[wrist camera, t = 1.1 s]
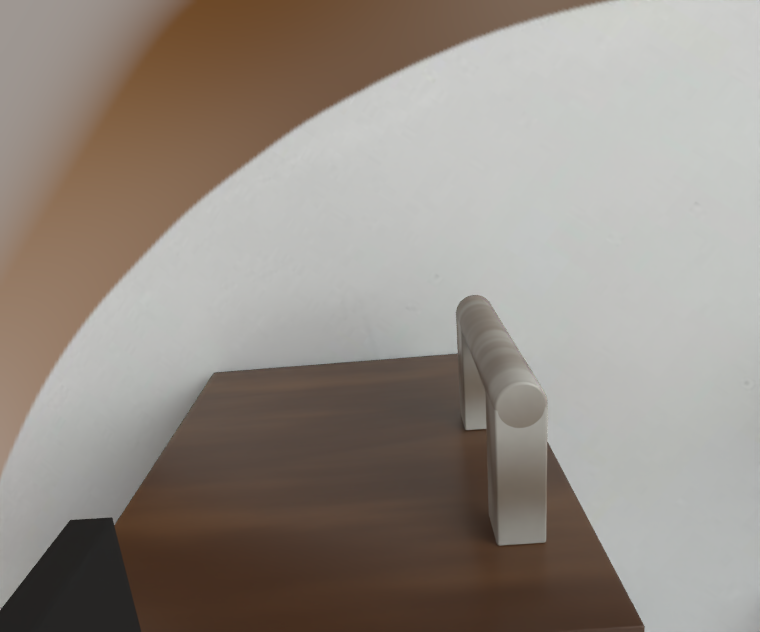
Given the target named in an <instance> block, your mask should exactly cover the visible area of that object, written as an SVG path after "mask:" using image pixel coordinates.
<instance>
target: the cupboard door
mask: <svg viewBox="0 0 760 632" xmlns="http://www.w3.org/2000/svg"><path fill="white" fill-rule="evenodd" d="M456 321H457V345H458V354H450V355H437V356H424V357H411V358H398V359H385V360H373V361H360V362H347V363H334V364H321V365H308V366H295V367H282V368H269V369H256V370H243V371H230V372H217V373H214V374H213V375H212V377H211V378H210V380H209V381H208V383H207V384H206V386H205V387H204V389H203V390H202V392H201V393H200V395H199V397H198V398H197V400H196V401H195V403H194V404H193V406H192V407H191V409H190V410H189V412H188V413H187V415H186V416H185V418H184V419H183V421H182V423H181V424H180V426H179V427H178V429H177V430H176V432H175V433H174V435H173V436H172V438H171V439H170V441H169V442H168V444H167V446H166V447H165V449H164V450H163V452H162V453H161V455H160V456H159V458H158V459H157V461H156V462H155V464H154V465H153V467H152V469H151V470H150V472H149V473H148V475H147V476H146V478H145V479H144V481H143V482H142V484H141V485H140V487H139V488H138V490H137V492H136V493H135V495H134V496H133V498H132V499H131V501H130V502H129V504H128V505H127V507H126V508H125V510H124V511H123V513H122V514H121V516H120V518H119V519H118V521H117V522H116V524H115V525H114V526H115V530H116V534H117V538H118V542H119V546H120V550H121V554H122V558H123V562H124V566H125V569H126V573H127V577H128V581H129V585H130V589H131V593H132V597H133V601H134V605H135V609H136V612H137V616H138V620H139V624H140V628H141V632H644V625H643V623H642V621H641V619H640V617H639V615H638V613H637V611H636V609H635V607H634V606H633V604H632V602H631V600H630V598H629V596H628V594H627V592H626V590H625V588H624V587H623V585H622V583H621V581H620V579H619V577H618V575H617V573H616V571H615V569H614V567H613V566H612V564H611V562H610V560H609V558H608V556H607V554H606V552H605V550H604V548H603V547H602V545H601V543H600V541H599V539H598V537H597V535H596V533H595V531H594V529H593V528H592V526H591V524H590V522H589V520H588V518H587V516H586V514H585V512H584V510H583V508H582V507H581V505H580V503H579V501H578V499H577V497H576V495H575V493H574V491H573V489H572V488H571V486H570V484H569V482H568V480H567V478H566V476H565V474H564V472H563V470H562V468H561V467H560V465H559V463H558V461H557V459H556V457H555V455H554V453H553V451H552V449H551V448H550V446H549V444H548V442H547V416H548V406H547V404H548V403H547V397H546V394H545V392H544V391H543V389H542V387H541V386H540V384H539V383H538V381H537V379H536V378H535V376H534V374H533V373H532V371H531V369H530V368H529V366H528V364H527V363H526V361H525V360H524V358H523V356H522V355H521V353H520V351H519V350H518V348H517V346H516V345H515V343H514V342H513V340H512V338H511V337H510V335H509V333H508V332H507V330H506V328H505V327H504V325H503V323H502V322H501V320H500V319H499V317H498V315H497V314H496V312H495V310H494V309H493V307H492V305H491V304H490V302H489V301H488V300H487V299H486V298H484V297H482V296H478V295H472V296H468V297H466V298H464V299H463V300H462V301H461V302H460V303H459V305H458V307H457V310H456Z"/></svg>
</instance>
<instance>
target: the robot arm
mask: <svg viewBox="0 0 760 632" xmlns="http://www.w3.org/2000/svg"><path fill="white" fill-rule="evenodd" d="M0 632H141V628H140V624H139V620H138V616H137V612H136V609H135V605H134V601H133V597H132V593H131V589H130V585H129V581H128V577H127V573H126V569H125V566H124V562H123V558H122V554H121V550H120V546H119V542H118V538H117V534H116V530H115V526H114V523H113V519H112V518H97V519H81V520H70V521H69V522H68V524H67V525H66V526H65V528H64V529H63V530H62V531H61V533H60V534H59V535H58V537H57V538H56V539H55V540H54V542H53V543H52V544H51V546H50V547H49V548H48V549H47V551H46V552H45V553H44V555H43V556H42V557H41V558H40V560H39V561H38V562H37V564H36V565H35V566H34V567H33V569H32V570H31V571H30V573H29V574H28V575H27V576H26V578H25V579H24V580H23V582H22V583H21V584H20V586H19V587H18V588H17V589H16V591H15V592H14V593H13V595H12V596H11V597H10V598H9V600H8V601H7V602H6V604H5V605H4V606H3V607H2V609H1V610H0Z"/></svg>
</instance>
